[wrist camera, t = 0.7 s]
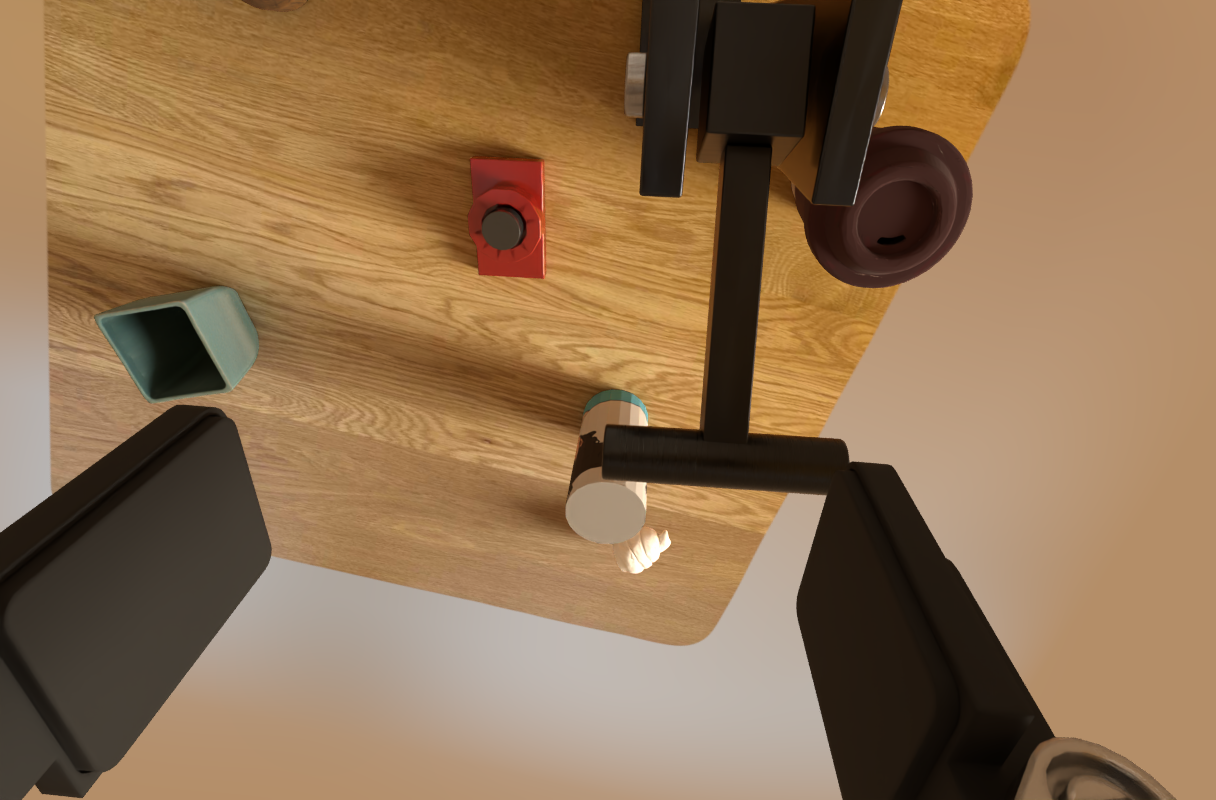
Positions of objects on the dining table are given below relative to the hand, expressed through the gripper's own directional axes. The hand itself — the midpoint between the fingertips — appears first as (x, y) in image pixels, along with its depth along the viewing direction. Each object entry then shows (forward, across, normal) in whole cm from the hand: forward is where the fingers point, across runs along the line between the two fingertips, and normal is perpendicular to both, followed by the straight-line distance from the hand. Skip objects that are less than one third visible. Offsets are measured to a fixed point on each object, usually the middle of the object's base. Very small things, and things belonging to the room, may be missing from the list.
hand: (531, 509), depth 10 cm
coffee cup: (+46, -17, +1) cm, 49 cm away
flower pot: (+47, +39, +18) cm, 63 cm away
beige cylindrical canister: (+47, 0, +27) cm, 54 cm away
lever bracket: (+46, -4, -6) cm, 47 cm away
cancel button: (+44, +10, +7) cm, 45 cm away
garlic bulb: (+47, -4, +42) cm, 63 cm away
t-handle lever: (+9, -4, -1) cm, 9 cm away
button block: (+46, +10, +7) cm, 48 cm away
